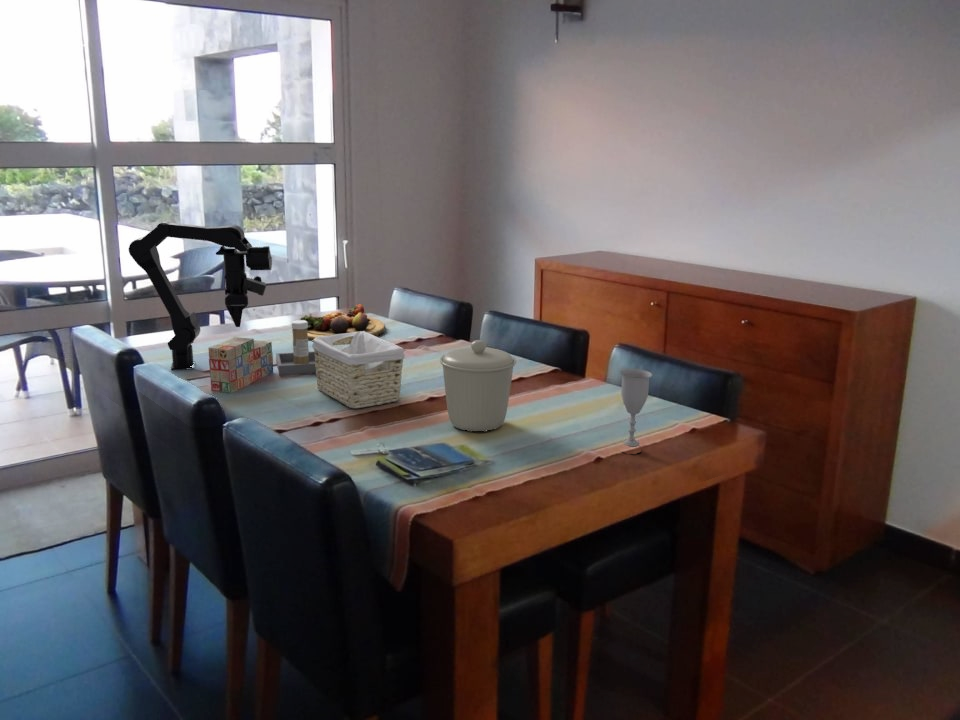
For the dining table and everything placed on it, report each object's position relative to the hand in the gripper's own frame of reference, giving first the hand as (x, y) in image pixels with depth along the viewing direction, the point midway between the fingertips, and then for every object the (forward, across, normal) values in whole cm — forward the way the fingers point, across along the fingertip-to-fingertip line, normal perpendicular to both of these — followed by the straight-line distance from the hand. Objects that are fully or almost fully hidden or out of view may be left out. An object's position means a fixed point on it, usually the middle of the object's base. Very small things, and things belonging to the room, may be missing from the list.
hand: (237, 323), depth 246 cm
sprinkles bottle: (+13, -5, -17) cm, 22 cm away
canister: (+13, -65, -54) cm, 85 cm away
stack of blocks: (+13, -16, -1) cm, 20 cm away
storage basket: (+13, -35, -30) cm, 48 cm away
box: (+13, -6, -18) cm, 22 cm away
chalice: (+13, -89, -83) cm, 122 cm away
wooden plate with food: (+14, +39, -34) cm, 53 cm away
